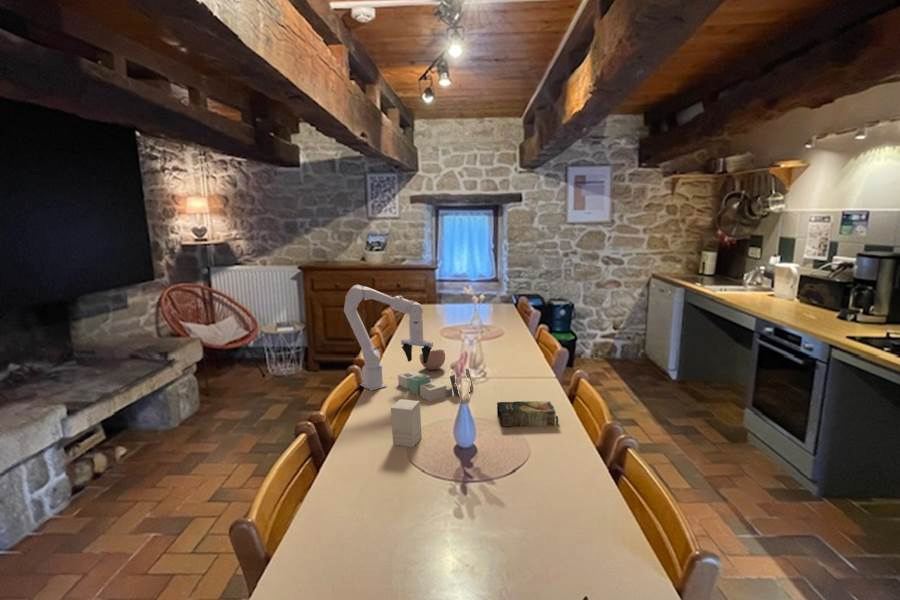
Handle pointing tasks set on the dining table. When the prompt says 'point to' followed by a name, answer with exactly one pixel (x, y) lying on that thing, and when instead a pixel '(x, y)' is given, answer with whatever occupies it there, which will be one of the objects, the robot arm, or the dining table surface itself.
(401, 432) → the supplement box
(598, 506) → the dining table surface
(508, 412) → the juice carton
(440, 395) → the rail mount
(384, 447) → the dining table surface
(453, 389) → the electrical switch
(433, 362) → the reddish brown round piece
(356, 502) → the dining table surface
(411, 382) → the block
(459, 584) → the dining table surface
